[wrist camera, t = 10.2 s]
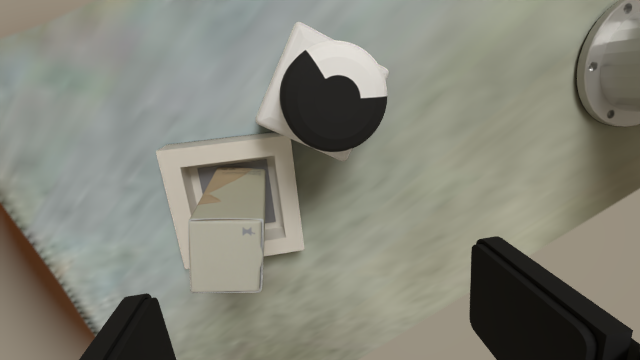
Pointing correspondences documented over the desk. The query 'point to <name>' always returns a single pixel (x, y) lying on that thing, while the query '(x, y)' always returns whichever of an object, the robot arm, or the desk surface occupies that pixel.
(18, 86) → the desk surface
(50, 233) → the desk surface
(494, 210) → the desk surface
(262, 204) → the box
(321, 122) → the medicine bottle
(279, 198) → the shallow square tray
